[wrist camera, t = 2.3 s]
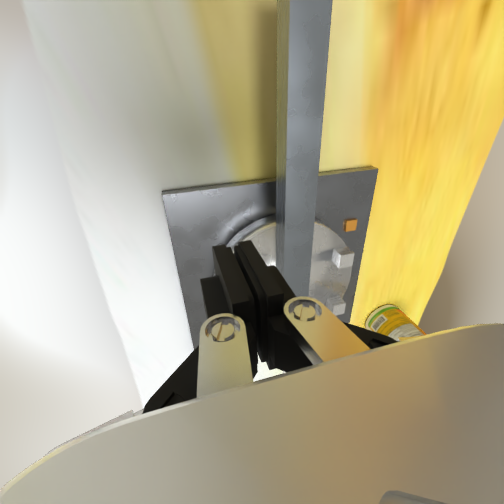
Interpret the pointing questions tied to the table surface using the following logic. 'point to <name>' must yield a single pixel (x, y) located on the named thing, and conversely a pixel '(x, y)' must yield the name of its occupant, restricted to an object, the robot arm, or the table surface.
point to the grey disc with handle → (301, 163)
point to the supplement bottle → (392, 323)
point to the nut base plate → (250, 210)
